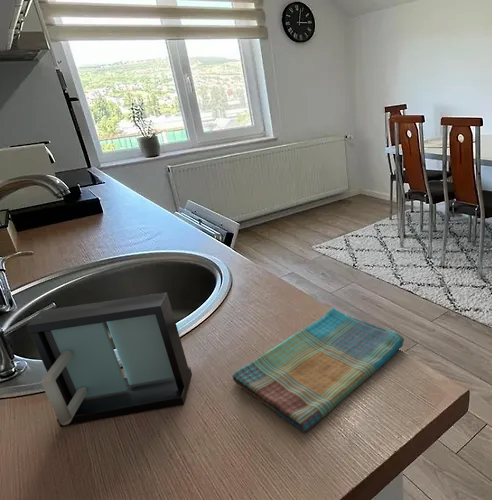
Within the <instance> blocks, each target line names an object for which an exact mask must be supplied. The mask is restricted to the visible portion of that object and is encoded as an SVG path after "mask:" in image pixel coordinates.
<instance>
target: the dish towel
mask: <svg viewBox="0 0 492 500" xmlns="http://www.w3.org/2000/svg"><path fill="white" fill-rule="evenodd" d="M404 341H405V338H404V336H402V335H401V334H400V333H398V332H396V331H393V330H390V329H387V328H384V327H380V326H377V325H374V324H372V323H369V322H366V321H364V320H361V319H358V318H354V317H353V316H351V315H348V314H345V313H343V312H341V311H340V310H337V309H336V308H335V307H333V308H329V309H328V311H327V312H326V313H325V314H323V316H321V317H320V318H318V319H317V320H315V321H313V322H312V323H310V324H308V325H307V326H305V327H304V328H302V329H300V330H298V331H297V332H295V333H293V334H292V335H291V336H290V337H288V338H286V339H285V340H283V341H281V342H280V343H279V344H277V345H276V346H275V347H272V348H271V349H269V350H268V351H266V352H265V353H264V354H262V355H261V356H259V357H257V358H256V359H254V360H253V361H251V362H250V363H248V364H246V365H245V366H243V367H241V368H239V369H238V370H237V371H235V372H234V373H233V374H232V381H234V383H235V384H237V385H238V386H240V387H241V388H242V389H244V391H245V392H248V393H249V394H250V395H252V396H254V397H255V398H256V399H258V400H259V401H260V402H261V403H263V404H264V405H266V407H268V408H269V409H271V410H272V411H273V412H275V413H276V414H278V415H279V416H280V417H281V418H283V419H284V420H285V421H287V422H288V423H290V424H291V425H293V426H294V427H295V428H297V429H299V431H301V432H302V433H306V432H308V431H309V430H310V429H311V428H312V427H314V426H315V425H316V424H317V423H319V422H320V421H321V420H322V419H324V417H326V416H327V415H328V414H329V413H330V412H332V410H333V409H335V407H336V406H338V405H339V404H340V403H341V402H342V401H343V400H344V399H345V398H346V397H348V396H349V395H350V394H351V393H352V392H354V390H356V389H357V388H358V387H359V386H360V385H361V384H362V383H363V382H365V381H366V380H367V379H368V378H370V377H371V376H372V375H373V374H374V373H375V372H377V371H378V370H380V368H382V367H383V366H384V365H385V364H386V363H387V362H388V361H389V360H390V359H391V358H392V356H394V355H395V354H396V352H398V351H399V350H400V349H401V348H402V347H403V346H404Z"/></svg>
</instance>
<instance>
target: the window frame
mask: <svg viewBox="0 0 492 500" xmlns="http://www.w3.org/2000/svg"><path fill="white" fill-rule="evenodd" d="M168 294H169V293H168V292H161V293H153V294H147V295H140V296H133V297H126V298H121V299H120V298H118V299H113V300H106V301H98V302H92V303H85V304H77V305H71V306H63V307H57V308H50V309H42V310H40V311H39V312H38V313H37V314H36V315H35V316H34V317H33V318H32V319H31V320H30V321H29V323H27V325H26V326H25V327H26V329H27V331H28V333H29V336H30V338H31V339H32V342H33V344H34V346H35V349H36V351H37V353H38V355H39V357H40V359H41V362H42V364H43V366H44V368H45V372H46V373H47V372H48V371H49V369H50V368H51V367H52V365H53V364H54V363H55V361H56V359H55V357H54V355H53V352H52V350H51V348H50V346H49V343H48V341H47V339H46V336H45V334H44V331H48V330H55V329H62V328H68V327H75V326H82V325H88V324H95V323H101V322H104V323H106V325H107V327H108V331H109V333H110V335H111V338H112V341H113V344H114V347H115V350H116V352H117V356H118V359H119V360H120V362H121V366H122V369H123V372H124V374H125V375H124V376H125V377H124V379H125V382H126V385H127V387H128V388H127V390H126V391H120V392H114V393H109V394H103V395H97V396H91V397H85V398H84V399H83V401H82V403H81V404H80V406H79V408H78V410H77V411H76V413H75V415H74V416H73V418H72V420H71V422H70V423H69V424H67V425H62V424H60V422H59V420H58V418H57V417H56V421H57V423H58V425H59V427H60V428H63V427H64V428H65V427H70V426H74V425H79V424H86V423H90V422H96V421H102V420H107V419H113V418H118V417H124V416H125V417H126V416H130V415H135V414H136V415H137V414H140V413H146V412H152V411H157V410H162V409H168V408H174V407H180V406H184V405H185V404H186V403H185V402H186V400H187V399H186V398H187V395H188V391H189V388H190V383H191V380H192V376H193V371H192V369H191V367H190V366H189V365H188V362H187V358H186V354H185V351H184V347H183V344H182V340H181V337H180V333H179V330H178V327H177V323H176V319H175V316H174V312H173V309H172V305H171V301H170V298H169V295H168ZM55 381H56V383H57V385H58V387H59V390H60V392H61V394H62V396H63V399H64V401H65V403H66V405H67V406H68V405H69V403H70V401H71V400H72V396H71V394H70V391H69V389H68V387H67V385H66V382H65V380H64V378H63V375H62V373H60V374H59V376H58V377H57V379H56V380H55Z"/></svg>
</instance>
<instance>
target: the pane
mask: <svg viewBox="0 0 492 500" xmlns="http://www.w3.org/2000/svg"><path fill="white" fill-rule="evenodd" d="M44 334H45V336H46V339H47V341H48V343H49V346H50V348H51V350H52V352H53V355H54V357H55V359H56V361H55V363H54V364H53V365H52V367H51V368H50V369H49V371H48V372H47V371H46V373H45V374H44V376H43V377H42V378H41V382H40V384H41V386H42V388H43V390H44V392H45V395H46V396H47V399H48V401H49V404H50V406H51V407H52V409H53V412H54V414H55V416H56V419H57V418H58V420H59V422H60V424H62V425H67V424H69V423H70V422H71V420H72V418H73V416H74V415H75V413H76V411H77V410H78V408H79V406H80V404H81V403H82V401H83V399H84V398H85V397H91V396H97V395H103V394H109V393H114V392H120V391H126V390H127V388H128V387H127V385H126V382H125V379H124V378H125V375H124V374H123V371H122V369H121V365H120V363H119V360H118V358H117V355H116V352H115V349H114V346H113V344H112V341H111V338H110V335H109V333H108V330H107V327H106V325H105V322H101V323H95V324H88V325H82V326H75V327H68V328H62V329H55V330H48V331H44ZM60 373H62V375H63V378H64V380H65V382H66V385H67V387H68V389H69V391H70V394H71V396H72V400H71V401H70V403H69V405H68V406H67V405H66V403H65V401H64V399H63V396H62V394H61V392H60V390H59V387H58V385H57V383H56V381H55V380H56V379H57V377H58V376H59V374H60Z"/></svg>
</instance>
